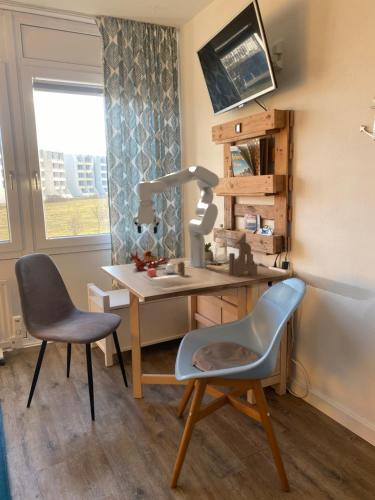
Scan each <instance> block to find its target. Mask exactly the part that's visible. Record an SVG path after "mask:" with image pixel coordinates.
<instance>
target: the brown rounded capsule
mask: <svg viewBox="0 0 375 500" xmlns="http://www.w3.org/2000/svg"><path fill="white" fill-rule="evenodd" d="M185 266H186V264H185V262H184V261H178V263H177V273H178V275H179V276H178V275H177V276H178V277H182V276H183V275H185V276H186V274H185V271H186V270H185V268H186V267H185ZM183 277H184V276H183Z"/></svg>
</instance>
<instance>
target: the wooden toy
mask: <svg viewBox="0 0 375 500" xmlns="http://www.w3.org/2000/svg"><path fill="white" fill-rule="evenodd" d="M246 240H247V234H246V232H243V233H242V234H241V235H240V236H239V238H237V240H235V242H234V245H238V256H237V258H235V257H236V256H235V253H234V252H230V253H228V257H229V258H228V275H230V276H233V277H235V276H238V277H241V276H242V274H243V273H244V272H246V271H247V274H248V275H250V276H251V275H254V276H258V264H257V263H256V262H255V261H254V254H253V253H252V246H251V245H250V244H249V243H248V242H247V241H246Z"/></svg>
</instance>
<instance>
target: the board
mask: <svg viewBox="0 0 375 500" xmlns="http://www.w3.org/2000/svg"><path fill="white" fill-rule="evenodd" d="M146 269H147V271H146V273H147V274H146V276H145V275H142V277H144V278H145V279H147V280H149V281H151V282H152V280H151V279H150V278H152V279H153V280H161V279H162V280H163V279H167V278H177V277H180V276H179V275H178V272H166V271H165V272H162V276H157V268H152V269H148V268H146ZM147 276H148V277H150V278H148V277H147ZM184 276H186V274H185V275H183V277H184Z"/></svg>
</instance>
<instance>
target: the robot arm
mask: <svg viewBox="0 0 375 500" xmlns="http://www.w3.org/2000/svg"><path fill="white" fill-rule="evenodd" d="M192 181H196V184H197V187H198V188H199V193H200V195H199V199H198V202H197V205H196V208H195V211H194V212H195V216H196V217H198V218H193V219H191V220H190V221H189V222H188V224H187V231H188V235H189V265H188V267H191V268H202V269H204V270H206V268H207V269H208V265H211V264H212V260H211V261H210V260H206V250H205V247H206V243H205V242H206V240H205V236H208V235H210V234H211V233H212V231H213V229H214V227H215V223H216V221H217V218H218V214H219V209H218V206H217V205H216V204H215V203H213V200H214V191H213V188H216V187H218V186H219V183H220V178H219V176H218V175H217V174H216V173H214V172H213V171H211V170H209V169H208V168H205V167H204V166H203V165H202V166H201V165H192V166H191V165H190V166H188V167H184V168H183V169H182V168H181V169H180V170H178V171H175V172H172V173H170V174H167V175H164V176H161V177H158V178H156V179H153V180H152V179H151V180H150V181H140V182H139V183H138V193H139V194H138V195H139V196H138V199H139V206H138V210H137V216H136V217H133V218H132V221H133V223H134V225H135V226H136V227H137V233H138V234H142V226H141V225H142V224H143V225H144V224H145V225H147V224H148V225H149V224H151V225H153V226H154V227H153V235H156V234H157V233H158V227H159V225H160V223H161V222H162V218H161V217H159V216H157V213H156V212H157V211H156V206H155V204H156V201H154V199H153V195H163V194H165V192H166V191H167V189H171V188H177V187H182V186H183V185H185V184H187V183H190V182H192ZM201 218H202V219H201Z"/></svg>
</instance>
